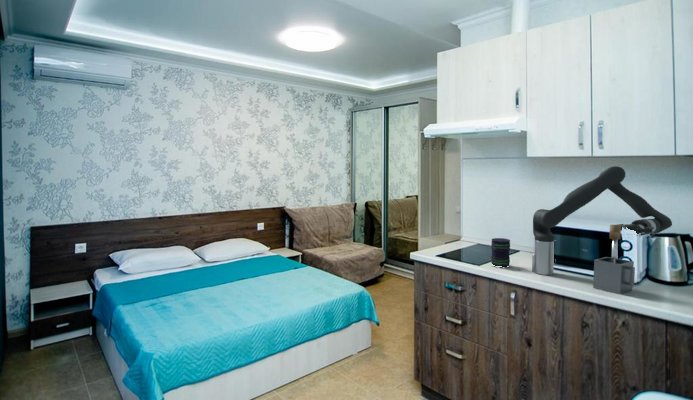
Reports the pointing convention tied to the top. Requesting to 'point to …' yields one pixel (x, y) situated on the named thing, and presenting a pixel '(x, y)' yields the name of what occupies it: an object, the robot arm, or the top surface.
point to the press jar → (614, 275)
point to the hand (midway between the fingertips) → (626, 229)
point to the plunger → (614, 240)
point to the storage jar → (500, 252)
